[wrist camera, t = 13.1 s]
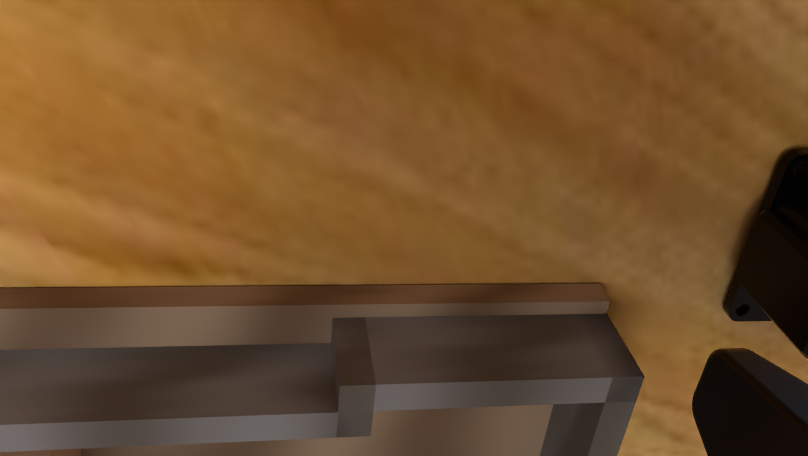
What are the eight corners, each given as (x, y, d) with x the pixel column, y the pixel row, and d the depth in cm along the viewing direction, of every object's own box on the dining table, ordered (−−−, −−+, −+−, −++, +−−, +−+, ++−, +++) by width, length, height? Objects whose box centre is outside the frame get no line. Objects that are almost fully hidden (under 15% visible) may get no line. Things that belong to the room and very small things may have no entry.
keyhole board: (599, 283, 26) (648, 363, 22) (542, 484, 31) (575, 574, 27) (-126, 289, 22) (-198, 386, 18) (-52, 518, 27) (-98, 628, 23)
